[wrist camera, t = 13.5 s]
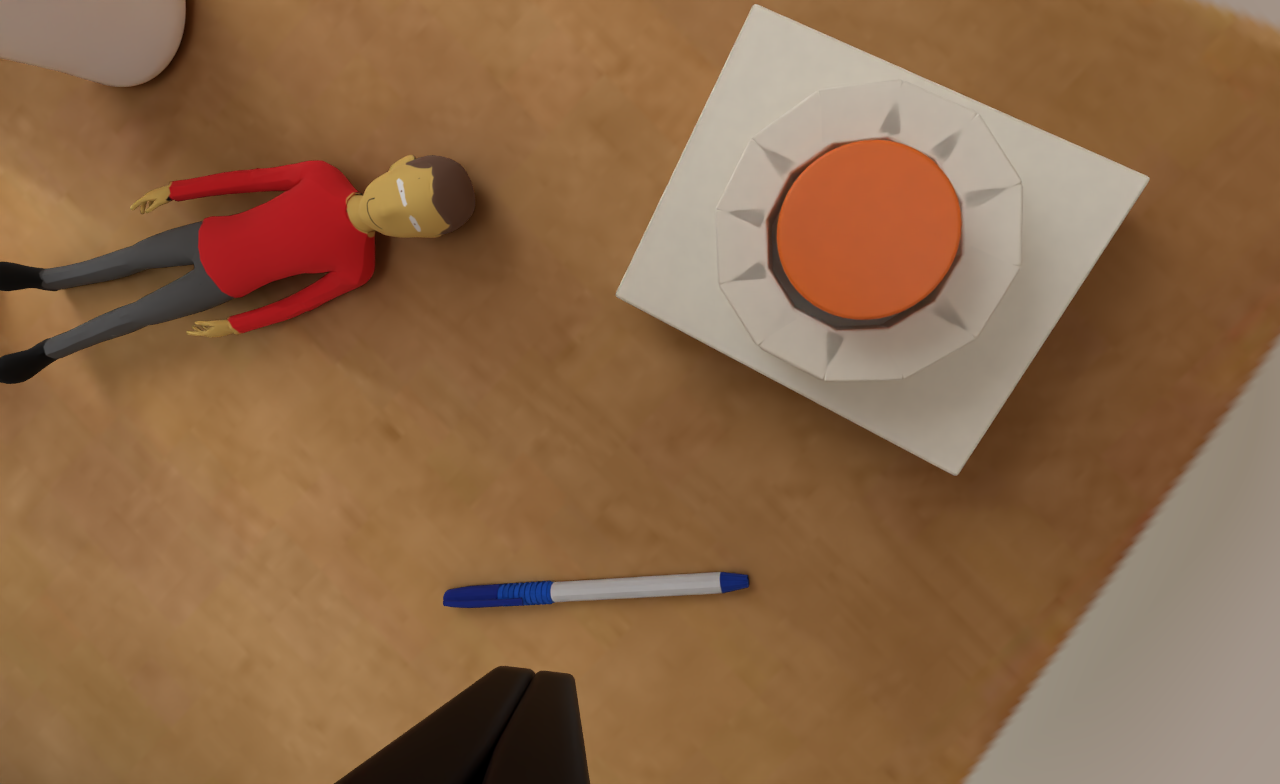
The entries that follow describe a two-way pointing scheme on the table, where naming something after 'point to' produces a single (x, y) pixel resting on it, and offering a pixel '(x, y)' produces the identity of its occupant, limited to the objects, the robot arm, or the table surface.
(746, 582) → the ballpoint pen
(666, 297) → the button block
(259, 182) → the person figure
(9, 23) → the drinking glass
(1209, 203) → the table surface
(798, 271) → the button
